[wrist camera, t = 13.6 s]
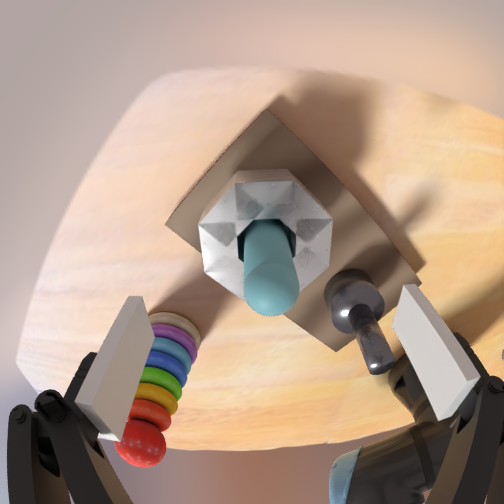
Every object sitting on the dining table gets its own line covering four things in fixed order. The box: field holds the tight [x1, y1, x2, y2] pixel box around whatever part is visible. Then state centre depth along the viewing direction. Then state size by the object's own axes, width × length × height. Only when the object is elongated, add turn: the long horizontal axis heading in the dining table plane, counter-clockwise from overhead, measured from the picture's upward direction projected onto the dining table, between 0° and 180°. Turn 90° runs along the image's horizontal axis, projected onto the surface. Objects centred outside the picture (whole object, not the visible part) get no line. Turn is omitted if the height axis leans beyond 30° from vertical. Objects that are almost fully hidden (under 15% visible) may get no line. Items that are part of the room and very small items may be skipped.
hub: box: [240, 219, 300, 316], centre depth 20 cm, size 7×7×14 cm
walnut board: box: [165, 109, 422, 352], centre depth 29 cm, size 26×14×2 cm, turn 47°
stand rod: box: [324, 268, 396, 375], centre depth 25 cm, size 6×6×11 cm
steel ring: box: [198, 169, 333, 301], centre depth 22 cm, size 9×9×4 cm
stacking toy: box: [115, 312, 201, 467], centre depth 27 cm, size 8×8×19 cm
